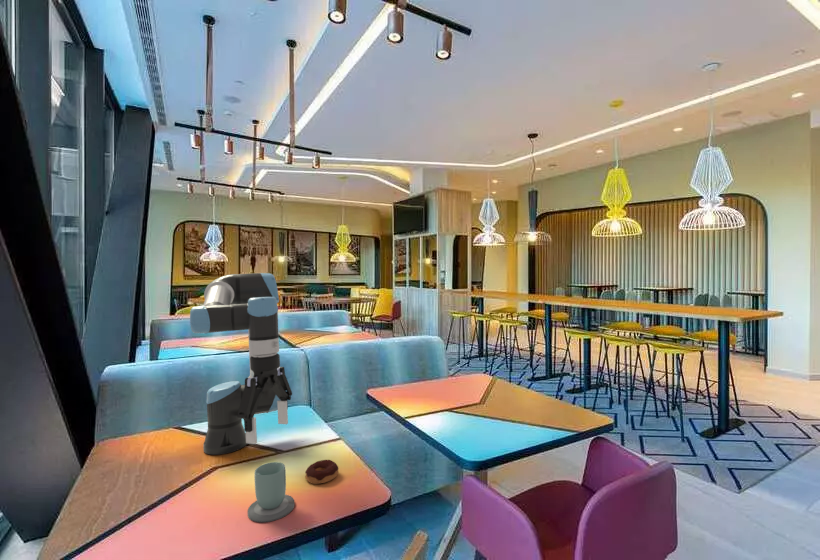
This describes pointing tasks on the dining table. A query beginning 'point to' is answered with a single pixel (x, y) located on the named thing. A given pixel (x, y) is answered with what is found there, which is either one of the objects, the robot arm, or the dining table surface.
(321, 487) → the dining table surface
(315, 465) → the donut
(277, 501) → the cup
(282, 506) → the disc
